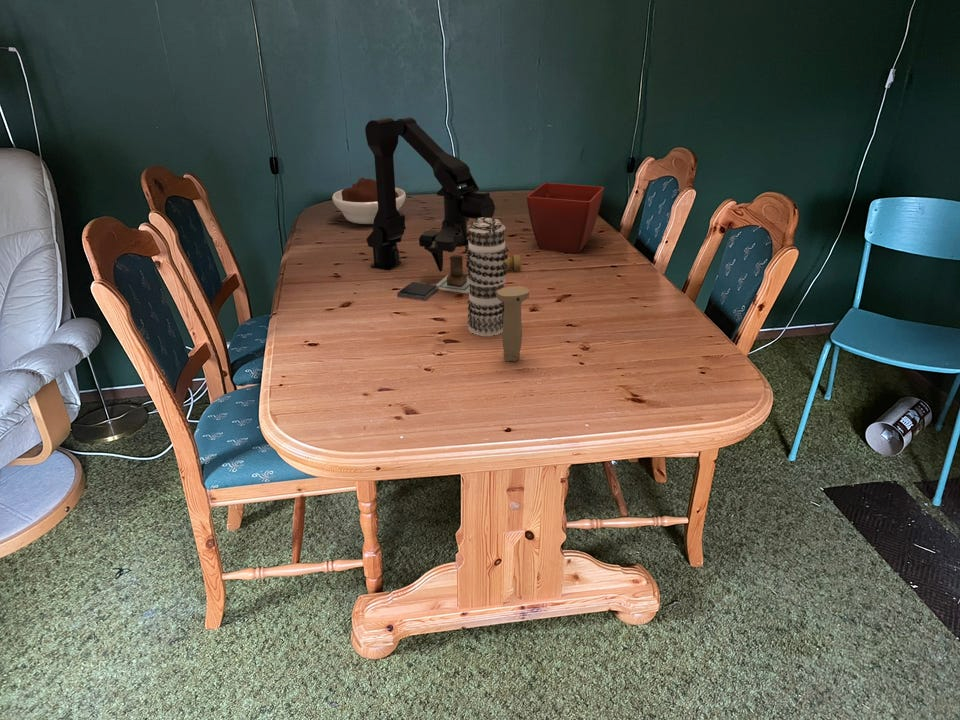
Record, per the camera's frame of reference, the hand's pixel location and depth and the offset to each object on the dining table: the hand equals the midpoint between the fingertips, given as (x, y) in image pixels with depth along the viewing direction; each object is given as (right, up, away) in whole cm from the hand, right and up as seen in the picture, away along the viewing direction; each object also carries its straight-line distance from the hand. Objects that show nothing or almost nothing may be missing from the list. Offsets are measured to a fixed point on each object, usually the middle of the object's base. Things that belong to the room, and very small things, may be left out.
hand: (456, 273), depth 169 cm
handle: (+13, -23, -36) cm, 44 cm away
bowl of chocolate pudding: (-32, +26, +56) cm, 70 cm away
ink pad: (-10, -6, -4) cm, 12 cm away
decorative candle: (+8, -16, -23) cm, 29 cm away
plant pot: (+32, +13, +30) cm, 46 cm away
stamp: (0, -3, +1) cm, 3 cm away
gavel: (+12, +6, +19) cm, 23 cm away
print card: (0, -3, +1) cm, 3 cm away
